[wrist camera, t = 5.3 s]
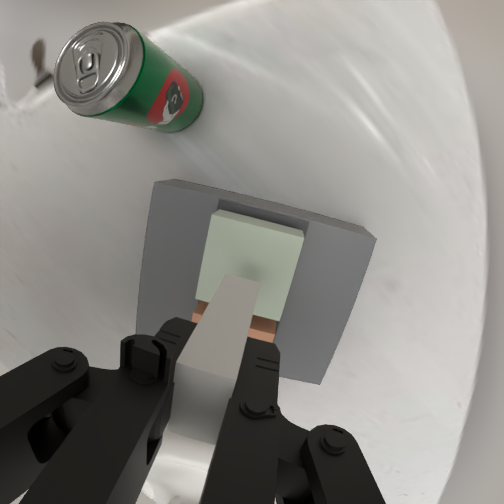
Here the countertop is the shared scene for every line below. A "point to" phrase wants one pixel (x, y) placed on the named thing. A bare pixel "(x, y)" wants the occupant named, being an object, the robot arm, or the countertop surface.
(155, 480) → the white floating cup sculpture
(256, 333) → the rust key
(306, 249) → the button panel
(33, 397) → the robot arm
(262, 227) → the sage key
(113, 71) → the soda can
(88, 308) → the countertop surface
